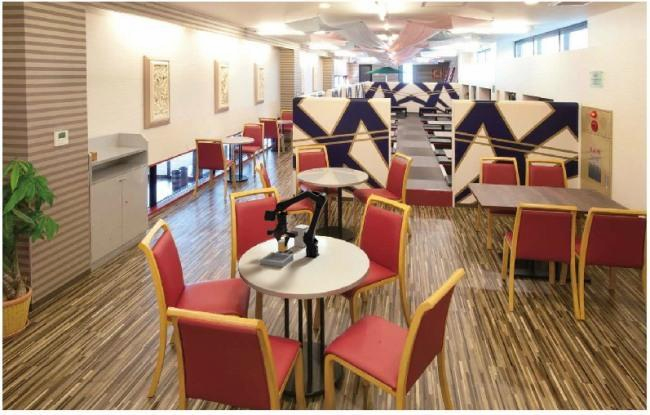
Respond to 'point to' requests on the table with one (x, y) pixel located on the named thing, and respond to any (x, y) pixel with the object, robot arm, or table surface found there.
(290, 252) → the holder
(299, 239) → the supplement box
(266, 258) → the tray
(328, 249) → the table surface
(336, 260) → the table surface
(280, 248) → the white and orange block
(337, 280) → the table surface
